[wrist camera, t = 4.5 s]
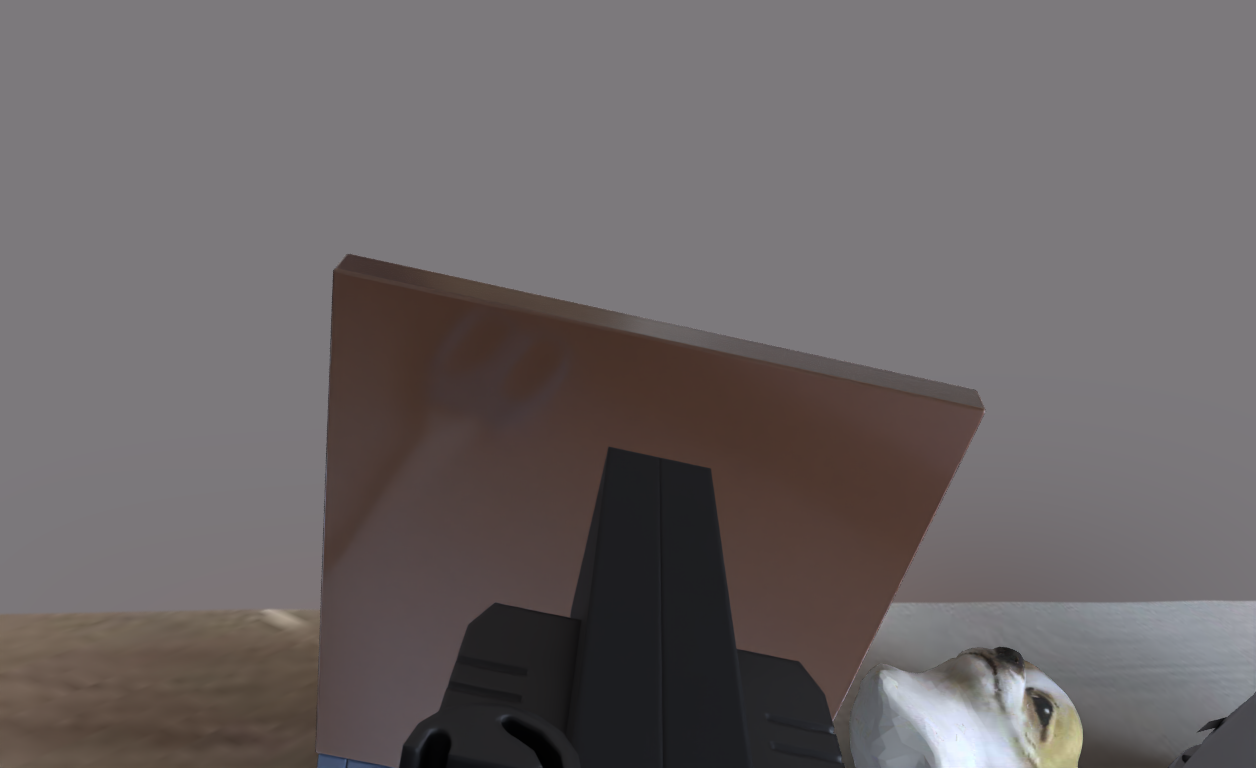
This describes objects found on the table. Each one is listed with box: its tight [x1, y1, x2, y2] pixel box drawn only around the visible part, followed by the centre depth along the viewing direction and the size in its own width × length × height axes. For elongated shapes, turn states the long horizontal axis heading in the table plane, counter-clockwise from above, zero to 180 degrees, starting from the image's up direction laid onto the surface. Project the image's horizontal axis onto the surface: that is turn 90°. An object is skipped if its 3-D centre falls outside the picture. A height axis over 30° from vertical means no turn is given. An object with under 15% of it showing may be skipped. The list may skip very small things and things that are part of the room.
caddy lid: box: [315, 254, 986, 768], centre depth 22 cm, size 14×13×1 cm
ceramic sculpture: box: [849, 647, 1083, 768], centre depth 45 cm, size 11×9×15 cm
